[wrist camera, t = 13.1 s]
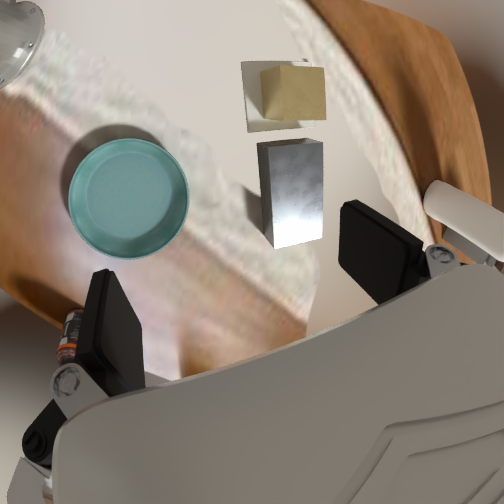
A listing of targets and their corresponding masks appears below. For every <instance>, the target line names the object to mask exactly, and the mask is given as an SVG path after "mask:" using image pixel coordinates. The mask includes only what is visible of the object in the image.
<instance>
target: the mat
mask: <svg viewBox="0 0 504 504" xmlns="http://www.w3.org/2000/svg"><path fill="white" fill-rule="evenodd" d="M279 65H289V66H308V67H312V63H311V62H298V61H297V62H296V61H248V62H247V61H246V62H241V69H242V79H243V89H244V99H245V109H246V120H247V130H248V132H249V133H251V132H260V131H269V130H280V129H293V128H310V127H316V126H315V120H302V121H278V120H270V119H264V117H263V104H262V91H261V78H260V72H261V71H264V70H267V69H270V68H273V67H276V66H279Z"/></svg>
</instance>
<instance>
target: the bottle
mask: <svg viewBox="0 0 504 504" xmlns="http://www.w3.org/2000/svg"><path fill="white" fill-rule="evenodd" d="M423 207H424V211H425V212H426V213H427V214H428V215H429V216H431V217H432V218H434V219H435V220H438V221H440V222H441V223H443V224H445V225H446V226H448V227H449V228H451V229H453V230H454V231H456V232H457V233H459V234H461V235H462V236H464V237H465V238H467V239H468V240H470V241H471V242H473V243H474V244H476V245H477V246H479V247H480V248H481V249H483V250H484V251H486V252H487V253H489V254H490V255H491V256H493V257H494V258H496V259H497V260H498V261H501V262H504V213H502V212H500V211H498V210H497V209H495V208H493V207H491V206H490V205H488V204H486V203H484V202H482V201H480V200H479V199H477V198H475V197H473V196H471V195H469V194H467V193H465V192H463V191H461V190H459V189H457V188H455V187H453V186H451V185H449V184H447V183H445V182H442V181H440V180H435V181H434V182H432V183H431V184H430V185H429V187H428V188H427V190H426V193H425V196H424V200H423Z"/></svg>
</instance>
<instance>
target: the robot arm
mask: <svg viewBox="0 0 504 504" xmlns="http://www.w3.org/2000/svg"><path fill="white" fill-rule="evenodd" d="M15 1H16V0H0V89H1V88H2V87H4V86H6V85H8V84H9V83H10V82H12V81H13V80H14V79H15V78H16V77H17V76H18V75H19V74H20V73H21V72H22V71H23V70H24V68H25V67H26V66H27V65H28V63H29V62H30V60H31V59H32V57H33V56H34V54H35V52H36V50H37V48H38V46H39V43H40V41H41V38H42V35H43V31H44V15H43V12H42V10H41V9H40V7H39V6H37V5H36V4H34V3H32V2H28V1H23V2H18V3H16V2H15ZM32 46H33V47H32ZM423 243H424V242H423V241H421V240H420V239H418V238H417V237H415V236H414V235H413V234H411V233H410V232H408V231H407V230H405V229H404V228H402V227H401V226H399V225H397V224H396V223H394V222H393V221H391V220H390V219H388V218H387V217H385V216H383V215H382V214H380V213H378V212H377V211H375V210H374V209H372V208H370V207H369V206H367V205H365V204H364V203H362V202H360V201H359V200H352V201H348V202H345V203H344V204H343V206H342V207H341V209H340V236H339V256H338V261H339V264H340V266H341V267H342V268H343V269H344V270H345V271H346V272H347V273H348V274H349V275H350V276H351V277H352V278H353V279H354V280H355V281H356V282H357V283H358V284H359V285H360V286H361V287H362V288H363V289H364V290H365V291H366V292H367V294H368V295H369V296H370V297H372V299H373V300H374V301H375V302H376V303H377V304H378V306H376V307H374V308H372V309H370V310H367V311H365V312H364V313H361V314H359V315H357V316H355V317H352V318H350V319H348V320H346V321H343V322H341V323H339V324H337V325H334V326H332V327H330V328H327V329H325V330H323V331H320V332H318V333H315V334H313V335H310V336H308V337H305V338H303V339H300V340H298V341H295V342H292V343H290V344H287V345H284V346H282V347H279V348H276V349H274V350H271V351H268V352H265V353H262V354H260V355H257V356H254V357H251V358H248V359H245V360H242V361H239V362H236V363H233V364H230V365H226V366H223V367H220V368H217V369H213V370H210V371H206V372H203V373H199V374H196V375H192V376H189V377H185V378H182V379H178V380H174V381H171V382H167V383H163V384H159V385H155V386H151V387H147V388H146V387H145V376H144V363H143V345H142V327H141V324H140V321H139V319H138V318H137V316H136V314H135V312H134V310H133V308H132V306H131V305H130V303H129V301H128V299H127V297H126V295H125V293H124V291H123V289H122V287H121V285H120V283H119V281H118V279H117V277H116V275H115V273H114V271H109V270H108V269H103V270H100V271H97V272H94V273H93V276H92V279H91V283H90V287H89V291H88V295H87V299H86V303H85V307H84V312H83V314H82V318H81V323H80V328H79V333H78V338H77V344H76V350H75V356H74V363H68V364H65V365H63V366H61V367H60V368H59V369H58V370H57V371H56V372H55V373H54V375H53V376H52V379H51V382H50V392H51V395H52V397H53V400H52V401H51V402H50V403H49V404H48V405H47V406H46V407H45V409H44V410H43V411H42V412H41V413H40V414H39V416H38V417H37V418H36V419H35V420H34V421H33V423H32V424H31V425H30V426H29V427H28V429H27V430H26V432H25V433H24V436H23V439H22V448H23V452H24V454H25V458H22V457H20V460H19V462H18V465H17V467H16V470H15V472H14V475H13V478H12V481H11V483H10V486H9V489H8V492H7V502H8V504H504V276H503V275H502V274H501V273H499V272H498V271H496V270H495V269H493V268H492V267H490V266H488V265H484V264H465V263H460V262H459V259H458V257H457V255H456V253H455V252H454V251H453V250H451V249H450V248H448V247H446V246H443V245H438V244H434V245H430V246H428V247H427V248H426V250H425V252H424V251H423V250H422V247H423Z"/></svg>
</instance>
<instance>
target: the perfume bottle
mask: <svg viewBox="0 0 504 504" xmlns="http://www.w3.org/2000/svg"><path fill="white" fill-rule="evenodd" d="M442 239H444V240H445V241H446V242H448V243H449V244H450V245H452V246H453V247H455V248H456V249H458V250H459V251H460V252H462V253H463V254H465V255H466V256H467V257H469V258H470V259H472V260H473V261H474V262H476V263H477V264H484V265H488V266H490V267H492V268H493V269H495V270H496V271H497V269H498V270H499V271H500V272H501V273H502V274H503V273H504V262H501V261H498V260H497V259H496V258H494V257H493V256H491V255H490V254H489V253H487V252H486V251H484V250H483V249H481V248H480V247H479V246H477V245H476V244H474V243H473V242H471V241H470V240H468V239H467V238H465V237H464V236H462V235H461V234H459V233H457V232H456V231H454V230H453V229H451V228H449V227H447V229H446V231H445V233H444V235H443V237H442Z"/></svg>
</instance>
